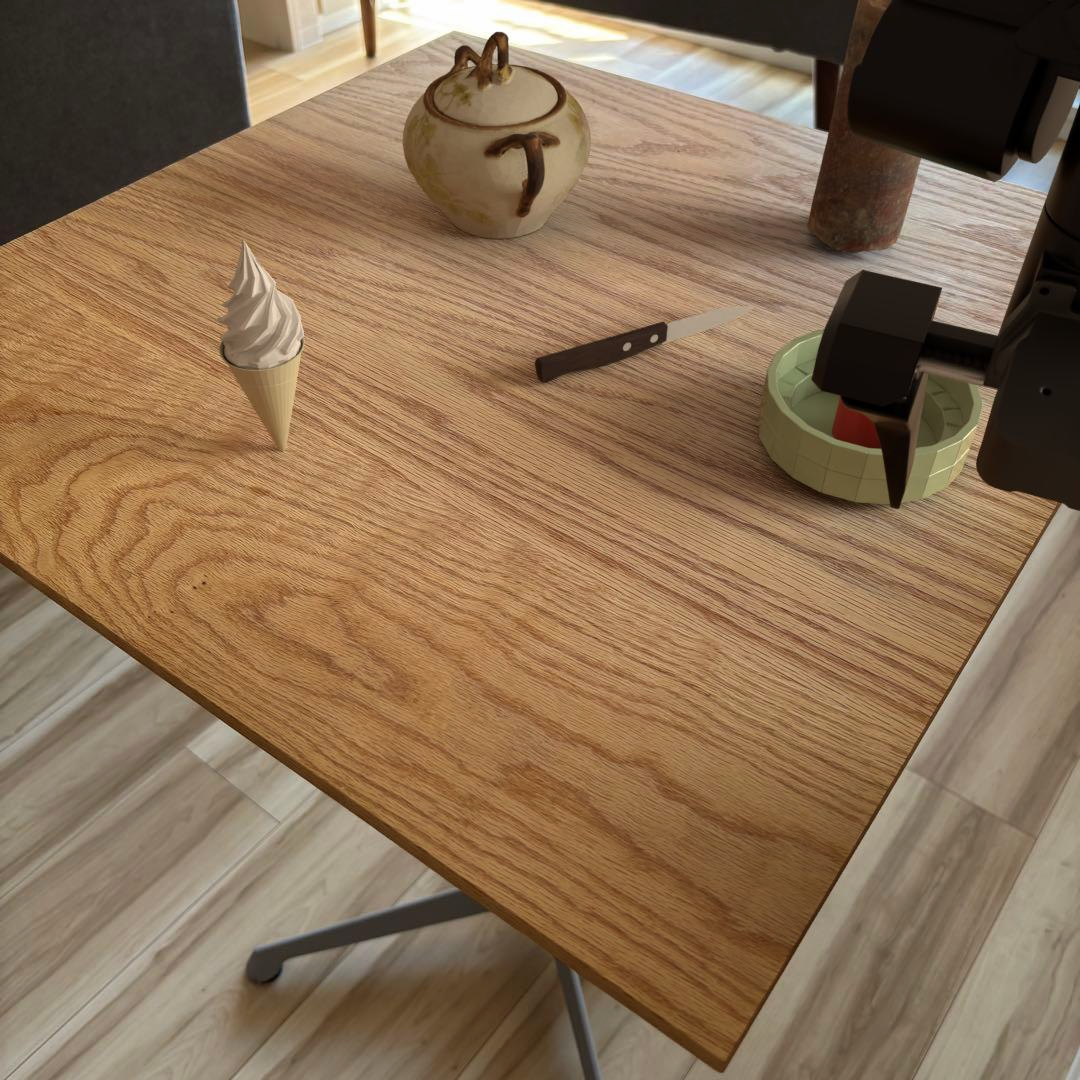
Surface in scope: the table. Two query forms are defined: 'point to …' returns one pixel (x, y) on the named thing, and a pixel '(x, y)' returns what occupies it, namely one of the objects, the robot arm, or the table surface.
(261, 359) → the ice cream cone
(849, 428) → the sriracha sauce bottle
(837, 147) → the candle
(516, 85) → the sugar bowl
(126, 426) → the table surface
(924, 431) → the serving bowl
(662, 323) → the kitchen knife
